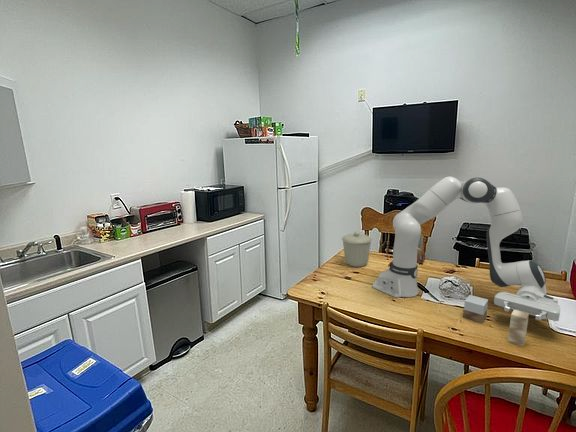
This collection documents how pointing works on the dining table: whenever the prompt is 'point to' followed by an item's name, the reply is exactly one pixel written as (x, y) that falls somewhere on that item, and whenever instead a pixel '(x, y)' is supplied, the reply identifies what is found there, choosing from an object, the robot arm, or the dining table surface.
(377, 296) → the dining table surface
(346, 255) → the canister
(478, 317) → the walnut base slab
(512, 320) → the pale ash block
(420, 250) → the tin
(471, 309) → the grey top slab
